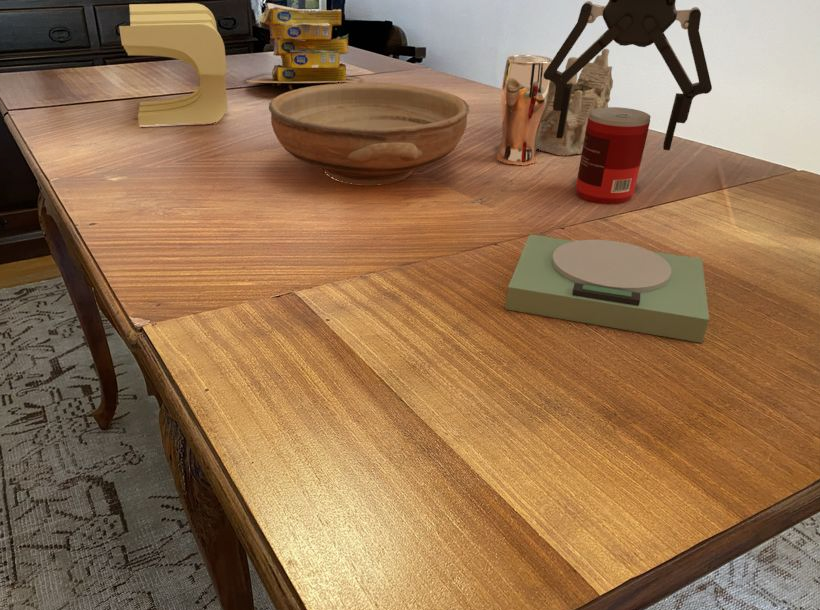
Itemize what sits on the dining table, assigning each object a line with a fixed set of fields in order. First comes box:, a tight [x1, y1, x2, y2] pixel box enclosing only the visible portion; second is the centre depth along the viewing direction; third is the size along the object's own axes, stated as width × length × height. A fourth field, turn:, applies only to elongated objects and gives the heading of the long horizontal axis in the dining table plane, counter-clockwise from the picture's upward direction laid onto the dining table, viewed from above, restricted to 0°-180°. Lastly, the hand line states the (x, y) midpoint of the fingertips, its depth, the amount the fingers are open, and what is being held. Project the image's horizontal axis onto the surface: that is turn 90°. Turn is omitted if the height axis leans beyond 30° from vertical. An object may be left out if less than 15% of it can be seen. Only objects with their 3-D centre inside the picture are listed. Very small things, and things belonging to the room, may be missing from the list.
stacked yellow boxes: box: [246, 2, 361, 91], centre depth 150 cm, size 25×25×17 cm
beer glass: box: [496, 54, 553, 166], centre depth 107 cm, size 7×7×15 cm
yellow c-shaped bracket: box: [118, 2, 228, 126], centre depth 128 cm, size 30×16×18 cm, turn 12°
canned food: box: [575, 106, 651, 205], centre depth 95 cm, size 8×8×11 cm
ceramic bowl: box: [268, 81, 470, 186], centre depth 103 cm, size 37×29×10 cm
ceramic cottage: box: [536, 48, 614, 156], centre depth 117 cm, size 16×16×15 cm
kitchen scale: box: [504, 234, 710, 344], centre depth 72 cm, size 18×14×3 cm
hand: (612, 141), depth 94 cm, fingers open, 13 cm apart
